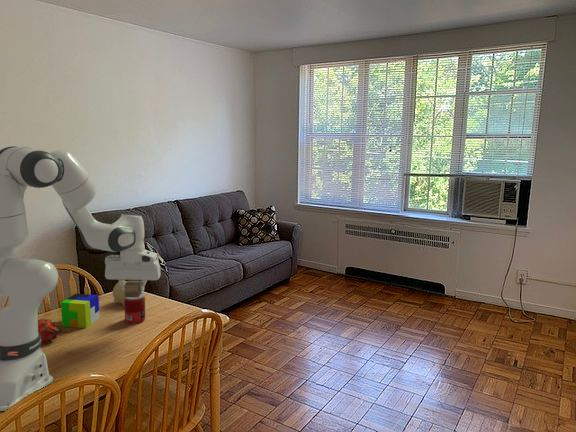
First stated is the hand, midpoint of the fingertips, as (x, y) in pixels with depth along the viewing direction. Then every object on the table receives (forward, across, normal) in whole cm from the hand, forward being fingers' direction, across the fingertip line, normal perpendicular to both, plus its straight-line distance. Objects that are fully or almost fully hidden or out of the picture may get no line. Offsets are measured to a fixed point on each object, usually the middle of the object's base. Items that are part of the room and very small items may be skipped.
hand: (133, 290), depth 168 cm
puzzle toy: (+17, -24, +9) cm, 30 cm away
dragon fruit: (+17, -30, -7) cm, 35 cm away
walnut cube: (+2, 0, 0) cm, 2 cm away
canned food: (+17, -3, +11) cm, 20 cm away
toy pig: (+16, -12, +29) cm, 35 cm away
